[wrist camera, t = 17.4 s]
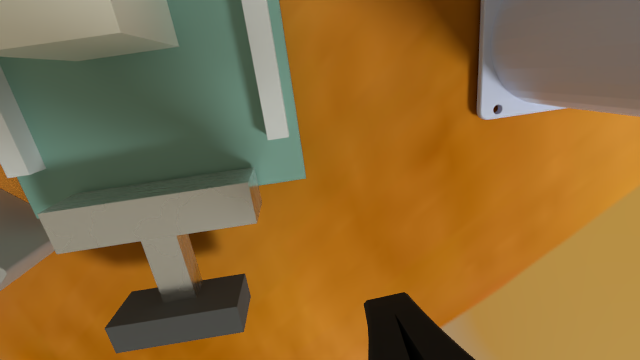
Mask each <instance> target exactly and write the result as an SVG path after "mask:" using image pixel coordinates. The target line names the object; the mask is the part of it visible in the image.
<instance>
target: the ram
mask: <svg viewBox="0 0 640 360" xmlns="http://www.w3.org/2000/svg"><path fill="white" fill-rule="evenodd" d="M261 205H262V200H261V196H260V191H259V186H258V181H257V177H256V172H255V167H250V168H243V169H236V170H230V171H223V172H216V173H209V174H203V175H196V176H189V177H182V178H176V179H169V180H162V181H155V182H149V183H142V184H135V185H128V186H122V187H115V188H108V189H101V190H95V191H88V192H81V193H75V194H73V195H71V196H69V197H67V198H66V199H64V200H62V201H60V202H58V203H56V204H55V205H53V206H51V207H49V208H47V209H45V210H44V211H42V212H40V213H38V217H39V219H40V221H41V223H42V225H43V227H44V229H45V231H46V233H47V235H48V237H49V239H50V241H51V244H52V246H53V248H54V250H55V252H56V254H61V253H67V252H74V251H80V250H87V249H93V248H100V247H106V246H113V245H119V244H126V243H132V242H138V241H141V243H142V246H143V248H144V251H145V254H146V257H147V259H148V262H149V265H150V267H151V270H152V273H153V275H154V278H155V281H156V284H157V286H158V288H152V289H146V290H139V291H133V292H131V293H130V295H129V296H128V298H127V299H126V300H125V302H124V303H123V304H122V306H121V307H120V308H119V310H118V311H117V312H116V314H115V315H114V316H113V318H112V319H111V321H110V322H109V323H108V325H107V326H106V327H105V330H106V332H107V334H108V337H109V339H110V341H111V343H112V345H113V347H114V350H115V352H116V353H120V352H126V351H132V350H138V349H144V348H150V347H156V346H162V345H168V344H174V343H180V342H186V341H192V340H198V339H204V338H210V337H216V336H222V335H228V334H234V333H240V332H244V328H245V323H246V318H247V312H248V307H249V302H250V292H249V288H248V284H247V280H246V276H245V274H239V275H233V276H227V277H220V278H214V279H208V280H202V277H201V274H200V271H199V267H198V264H197V261H196V258H195V255H194V251H193V248H192V245H191V242H190V238H189V235H188V234H190V233H197V232H203V231H210V230H216V229H223V228H229V227H235V226H242V225H248V224H255V223H257V221H258V217H259V213H260V209H261Z"/></svg>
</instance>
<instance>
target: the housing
mask: <svg viewBox="0 0 640 360" xmlns="http://www.w3.org/2000/svg"><path fill="white" fill-rule="evenodd" d="M173 47H179V44H178V41H177V37H176V33H175V30H174V26H173V22H172V18H171V15H170V11H169V7H168V4H167V0H0V57H14V58H31V59H48V60H65V61H83V60H90V59H97V58H104V57H111V56H118V55H125V54H132V53H139V52H146V51H153V50H159V49H166V48H173Z"/></svg>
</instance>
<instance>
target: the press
mask: <svg viewBox="0 0 640 360" xmlns="http://www.w3.org/2000/svg"><path fill="white" fill-rule="evenodd" d="M167 4H168V7H169V11H170V15H171V18H172V22H173V26H174V30H175V33H176V37H177V41H178V44H179V47H173V48H166V49H159V50H153V51H146V52H139V53H132V54H125V55H118V56H111V57H104V58H97V59H90V60H83V61H65V60H48V59H31V58H14V57H0V164H1V166H2V168H3V170H4V172H5V174H6V176H7V178H12V177H17V178H18V180H19V182H20V184H21V187H22V189H23V191H24V193H25V195H26V197H27V199H28V201H29V203H30V205H31V207H32V209H33V211H34V213H35V215H36V218H37V219H39V217H38V213H40V212H42V211H44V210H45V209H47V208H49V207H51V206H53V205H55V204H56V203H58V202H60V201H62V200H64V199H66V198H67V197H69V196H71V195H73V194H75V193H81V192H88V191H95V190H101V189H108V188H115V187H122V186H128V185H135V184H142V183H149V182H155V181H162V180H169V179H176V178H182V177H189V176H196V175H203V174H209V173H216V172H223V171H230V170H236V169H243V168H250V167H255V172H256V177H257V181H258V186H259V185H265V184H272V183H278V182H285V181H292V180H298V179H305V178H306V175H305V167H304V161H303V154H302V148H301V141H300V135H299V128H298V122H297V115H296V109H295V102H294V96H293V89H292V83H291V76H290V69H289V63H288V56H287V50H286V43H285V37H284V30H283V24H282V17H281V11H280V4H279V0H167Z"/></svg>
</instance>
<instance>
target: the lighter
mask: <svg viewBox="0 0 640 360" xmlns="http://www.w3.org/2000/svg"><path fill="white" fill-rule="evenodd" d="M53 251H55V250H54V248H53V246H52V244H51V241H50V239H49V237H48V235H47V233H46V231H45V229H44V227H43V225H42V223H41V221H40V219H37V218H36V215H35V213H34V211H33V209H32V207H31V205H30V204H29V203H27V202H25V201H23V200H21V199H19V198H17V197H15V196H14V195H12V194H10V193H8V192H6V191H4V190H2V189H0V291H1V290H2V289H4V288H5V287H6V286H8V285H9V284H10V283H12V282H13V281H14V280H16V279H17V278H18V277H20V276H21V275H22V274H24V273H25V272H26V271H28V270H29V269H31V268H32V267H33V266H35V265H36V264H37V263H39V262H40V261H41V260H43V259H44V258H45V257H47V256H48V255H49V254H51V253H52V252H53Z"/></svg>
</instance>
